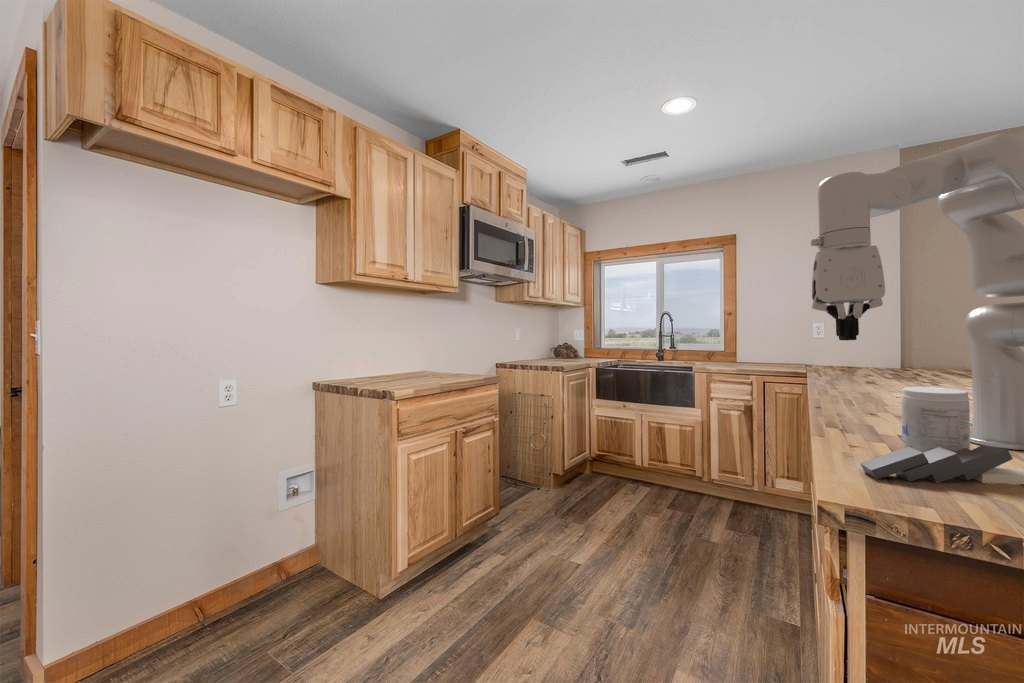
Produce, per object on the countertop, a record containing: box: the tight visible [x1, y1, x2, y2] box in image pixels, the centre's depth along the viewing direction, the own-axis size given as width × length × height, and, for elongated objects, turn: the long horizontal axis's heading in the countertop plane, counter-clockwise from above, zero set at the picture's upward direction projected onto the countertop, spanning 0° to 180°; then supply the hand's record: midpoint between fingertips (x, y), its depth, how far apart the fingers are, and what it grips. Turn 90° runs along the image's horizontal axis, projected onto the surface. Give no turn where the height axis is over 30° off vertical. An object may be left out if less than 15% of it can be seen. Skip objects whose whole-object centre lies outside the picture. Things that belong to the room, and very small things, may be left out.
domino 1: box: [859, 447, 928, 480], centre depth 77 cm, size 4×2×8 cm
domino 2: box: [895, 447, 962, 482], centre depth 75 cm, size 4×2×8 cm
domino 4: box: [955, 445, 1014, 481], centre depth 75 cm, size 4×2×8 cm
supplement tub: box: [901, 386, 971, 453], centre depth 84 cm, size 10×10×15 cm
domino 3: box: [924, 448, 990, 483], centre depth 74 cm, size 4×2×8 cm
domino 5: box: [972, 467, 1024, 485], centre depth 74 cm, size 4×2×8 cm
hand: (847, 339), depth 79 cm, fingers closed
